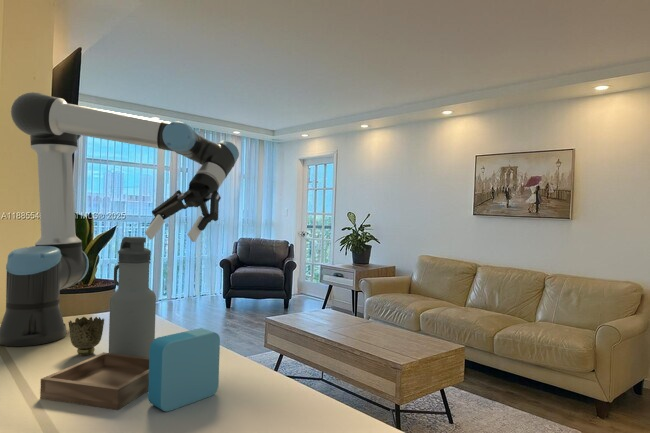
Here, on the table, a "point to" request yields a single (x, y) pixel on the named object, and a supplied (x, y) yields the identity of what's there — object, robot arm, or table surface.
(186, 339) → the data package
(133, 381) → the walnut tray
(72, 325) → the cup
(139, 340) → the water bottle
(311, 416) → the table surface
